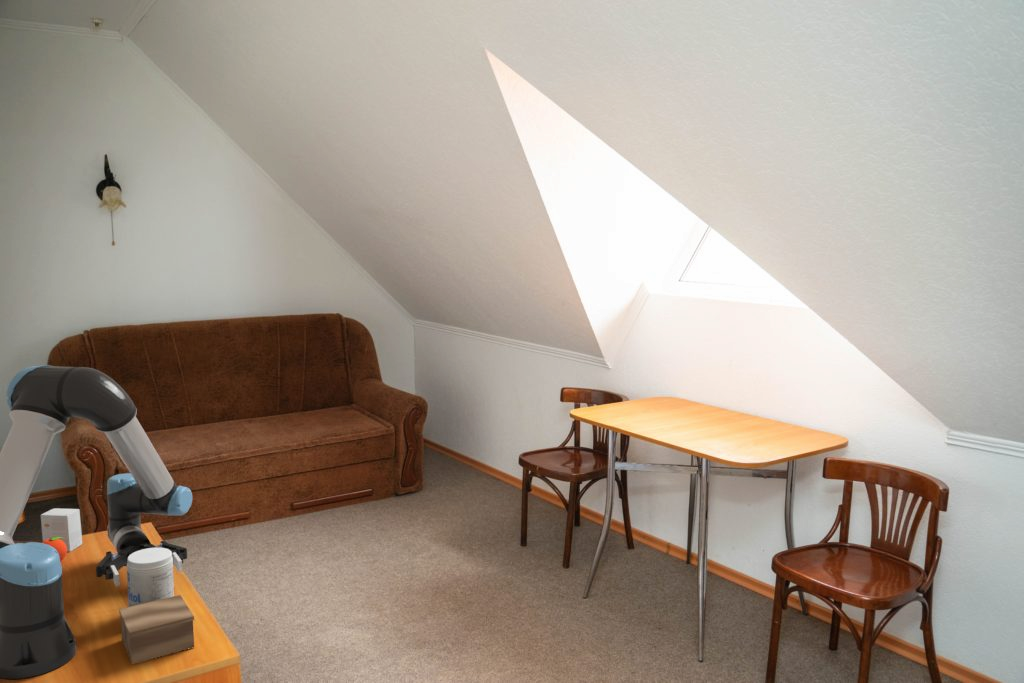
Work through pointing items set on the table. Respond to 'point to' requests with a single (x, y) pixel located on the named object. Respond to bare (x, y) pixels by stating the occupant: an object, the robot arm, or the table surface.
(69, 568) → the table surface
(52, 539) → the clementine
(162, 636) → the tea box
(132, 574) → the supplement tub
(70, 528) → the small box
